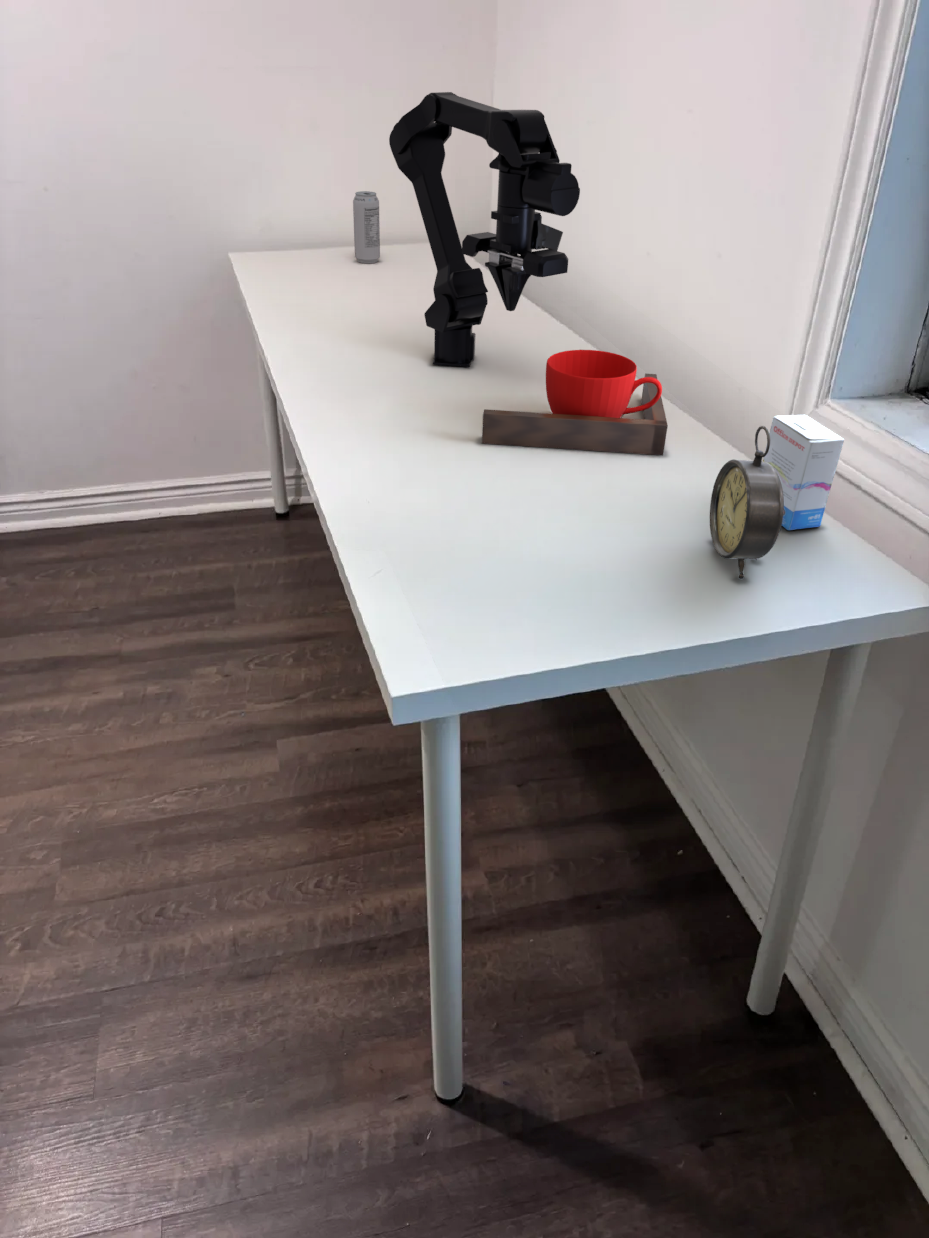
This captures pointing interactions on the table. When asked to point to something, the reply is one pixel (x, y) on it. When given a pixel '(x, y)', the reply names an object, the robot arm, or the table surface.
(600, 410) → the ceramic cup
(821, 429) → the ink box
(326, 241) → the table surface
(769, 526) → the alarm clock
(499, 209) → the robot arm
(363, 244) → the energy drink can
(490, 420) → the corner guide
